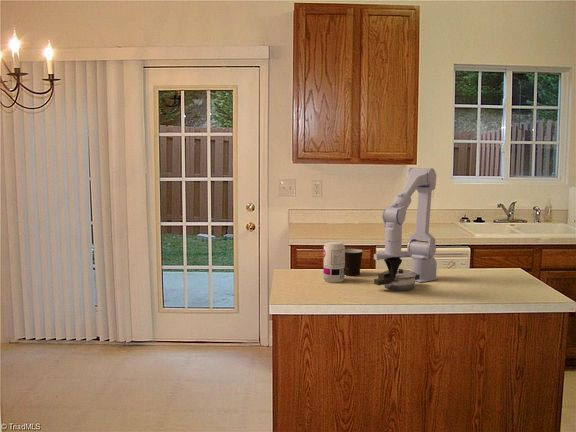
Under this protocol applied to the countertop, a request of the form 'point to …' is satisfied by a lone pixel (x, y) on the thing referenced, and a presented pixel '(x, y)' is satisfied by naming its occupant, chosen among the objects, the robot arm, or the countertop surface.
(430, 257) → the robot arm
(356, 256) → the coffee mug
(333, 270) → the supplement can
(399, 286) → the pot
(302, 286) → the countertop surface
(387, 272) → the lid
